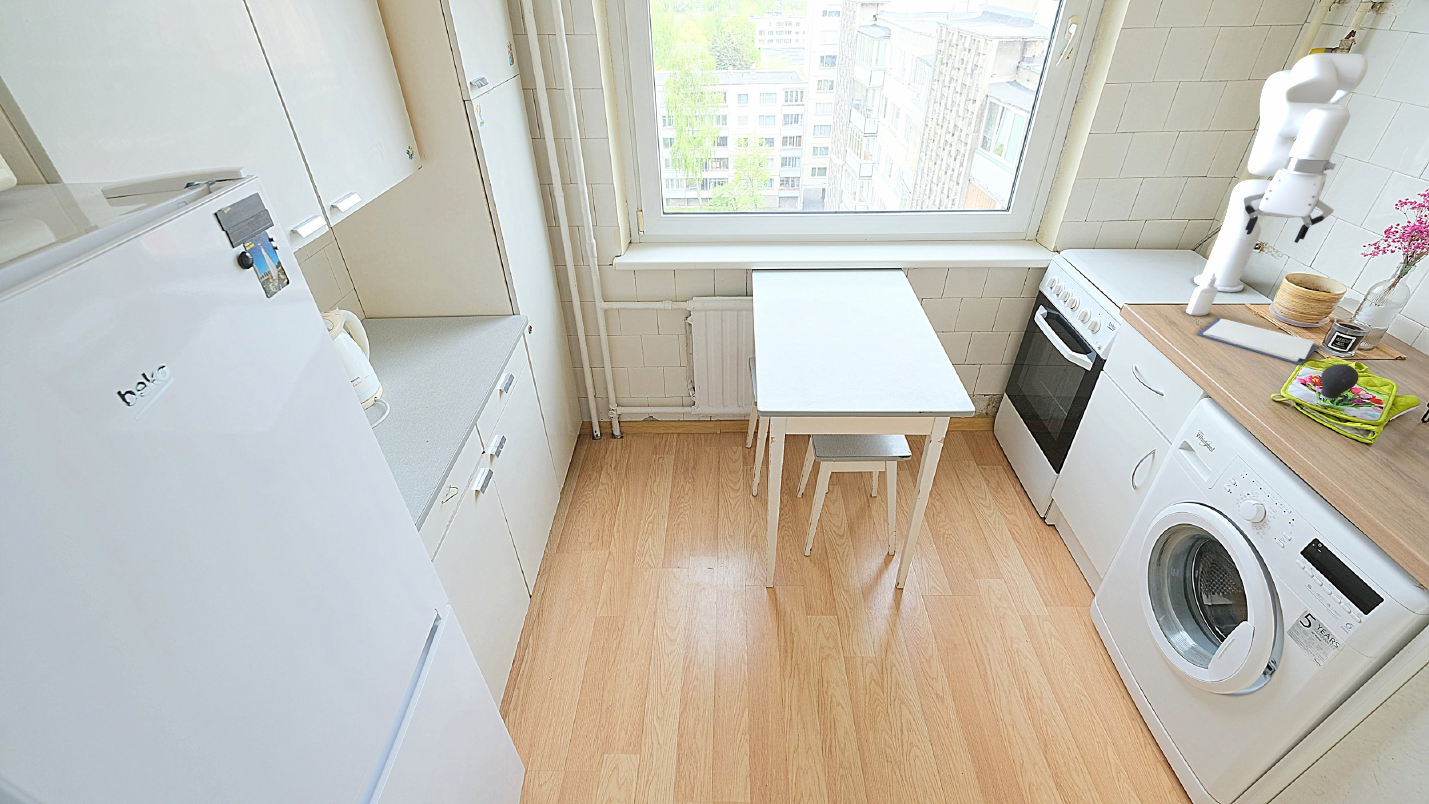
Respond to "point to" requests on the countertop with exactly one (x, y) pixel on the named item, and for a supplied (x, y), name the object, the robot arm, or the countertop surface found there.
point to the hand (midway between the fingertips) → (1272, 237)
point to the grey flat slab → (1260, 340)
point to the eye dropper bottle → (1203, 297)
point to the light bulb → (1337, 381)
